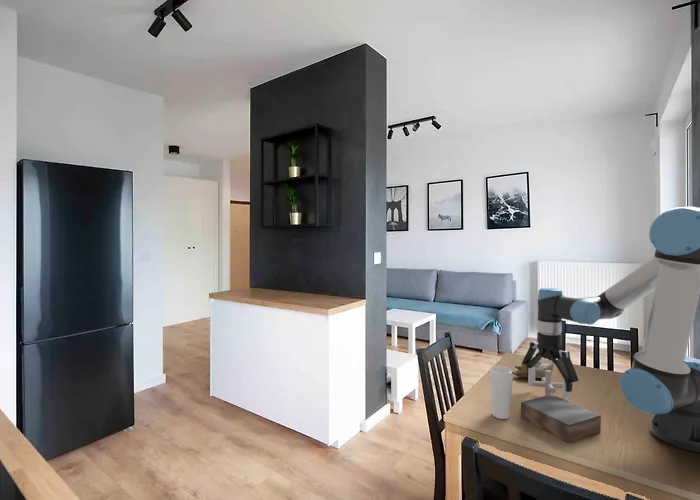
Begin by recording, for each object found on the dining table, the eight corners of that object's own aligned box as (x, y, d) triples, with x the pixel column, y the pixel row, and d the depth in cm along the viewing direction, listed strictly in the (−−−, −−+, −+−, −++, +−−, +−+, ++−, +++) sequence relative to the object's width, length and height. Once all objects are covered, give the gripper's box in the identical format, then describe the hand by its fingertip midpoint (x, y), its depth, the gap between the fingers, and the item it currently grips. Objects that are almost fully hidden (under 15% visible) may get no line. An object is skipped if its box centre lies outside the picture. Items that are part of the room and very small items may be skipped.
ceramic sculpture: (552, 363, 144) (510, 358, 152) (553, 385, 144) (511, 380, 152) (554, 355, 153) (514, 352, 161) (555, 377, 153) (515, 372, 161)
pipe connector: (568, 406, 127) (569, 377, 126) (536, 403, 129) (537, 374, 128) (558, 394, 137) (559, 366, 136) (528, 392, 139) (529, 365, 138)
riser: (600, 432, 110) (601, 415, 110) (568, 442, 104) (568, 425, 104) (551, 409, 125) (551, 394, 125) (520, 417, 119) (520, 401, 119)
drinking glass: (485, 415, 121) (485, 368, 120) (496, 409, 125) (496, 364, 124) (505, 423, 115) (506, 374, 115) (516, 416, 120) (516, 369, 119)
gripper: (591, 340, 122) (590, 405, 123) (527, 324, 145) (526, 378, 146) (576, 343, 119) (574, 409, 120) (512, 325, 142) (511, 381, 142)
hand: (548, 392), depth 133 cm, fingers open, 13 cm apart
